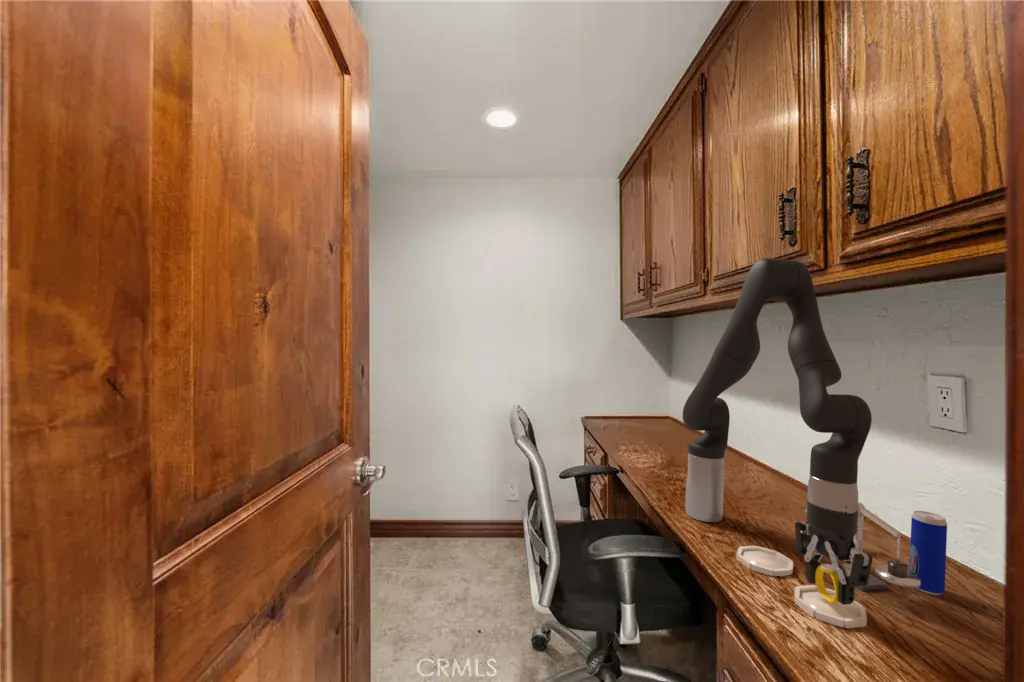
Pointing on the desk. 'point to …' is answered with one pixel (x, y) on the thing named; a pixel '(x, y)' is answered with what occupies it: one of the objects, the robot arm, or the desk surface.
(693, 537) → the desk surface
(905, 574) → the balance
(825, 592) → the watch
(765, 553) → the dish upper pan side
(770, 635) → the desk surface
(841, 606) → the dish lower pan side
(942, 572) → the beverage can
